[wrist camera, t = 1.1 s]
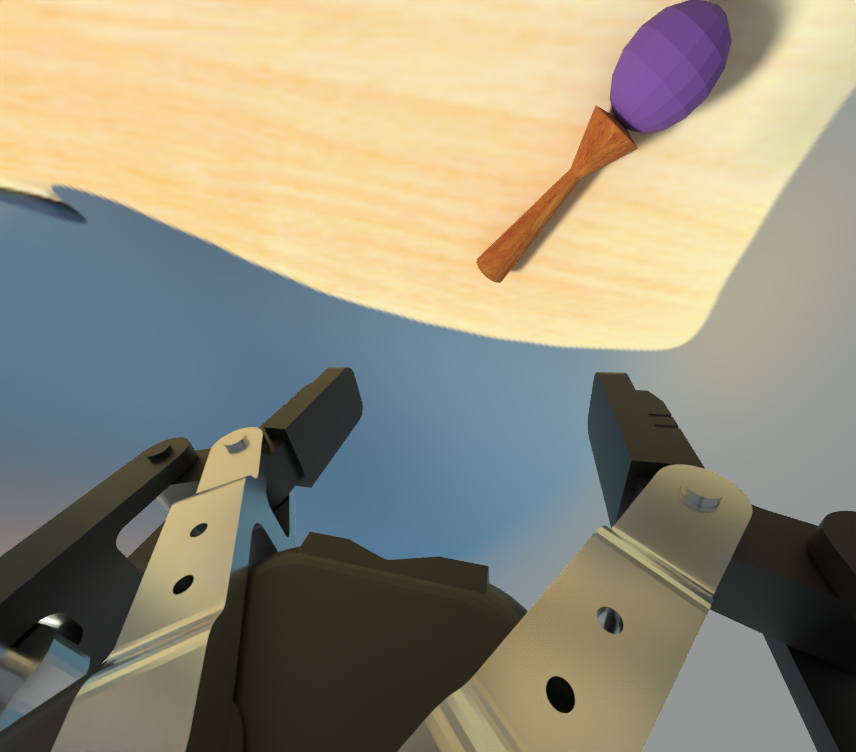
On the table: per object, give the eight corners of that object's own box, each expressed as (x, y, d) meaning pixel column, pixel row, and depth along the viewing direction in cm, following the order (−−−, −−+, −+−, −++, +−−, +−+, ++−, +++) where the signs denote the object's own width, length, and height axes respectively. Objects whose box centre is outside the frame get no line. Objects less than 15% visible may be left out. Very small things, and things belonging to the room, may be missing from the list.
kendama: (458, 260, 29) (697, -48, 15) (475, 241, 34) (674, -15, 20) (505, 302, 30) (774, 44, 16) (516, 278, 34) (736, 57, 20)
